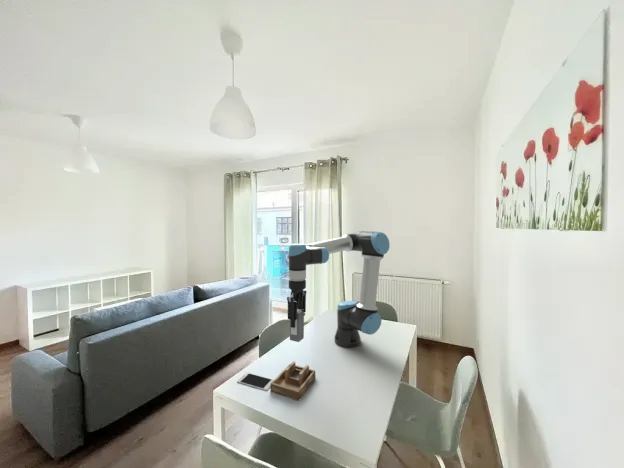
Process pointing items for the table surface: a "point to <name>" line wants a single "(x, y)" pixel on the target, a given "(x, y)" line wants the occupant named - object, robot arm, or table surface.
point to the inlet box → (293, 381)
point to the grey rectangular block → (298, 327)
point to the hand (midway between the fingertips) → (296, 331)
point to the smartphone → (256, 381)
